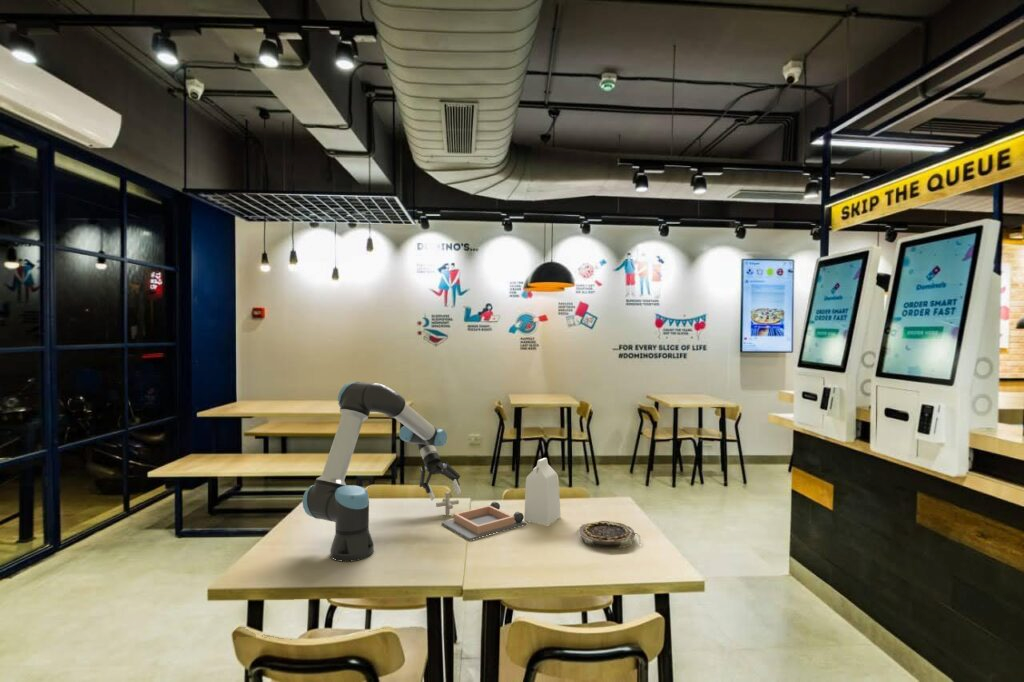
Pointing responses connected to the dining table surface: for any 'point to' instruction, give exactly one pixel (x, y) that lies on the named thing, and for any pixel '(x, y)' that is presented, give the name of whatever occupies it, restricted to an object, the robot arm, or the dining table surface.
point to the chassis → (483, 521)
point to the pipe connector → (447, 503)
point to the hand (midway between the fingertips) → (446, 495)
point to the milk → (542, 495)
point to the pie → (607, 534)
